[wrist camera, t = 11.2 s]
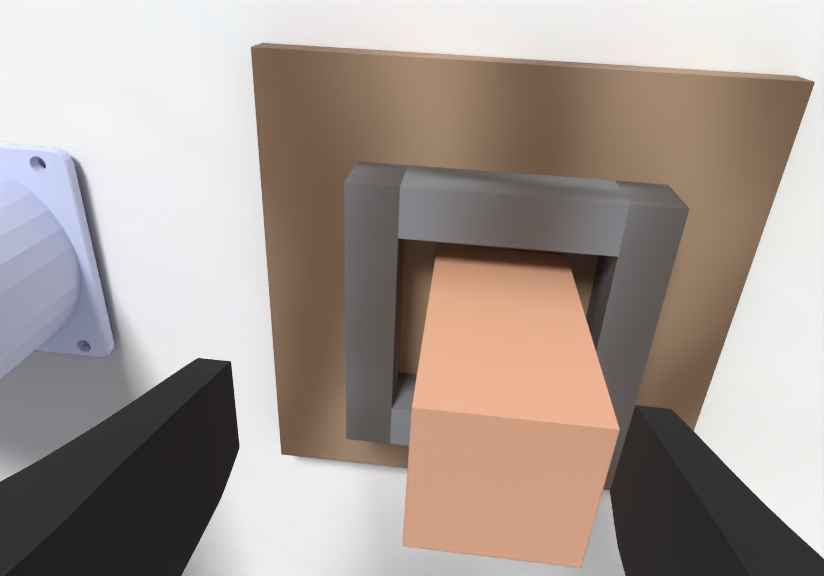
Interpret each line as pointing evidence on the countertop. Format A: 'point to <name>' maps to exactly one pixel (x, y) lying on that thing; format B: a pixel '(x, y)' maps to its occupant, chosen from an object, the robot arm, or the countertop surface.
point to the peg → (507, 412)
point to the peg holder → (503, 217)
